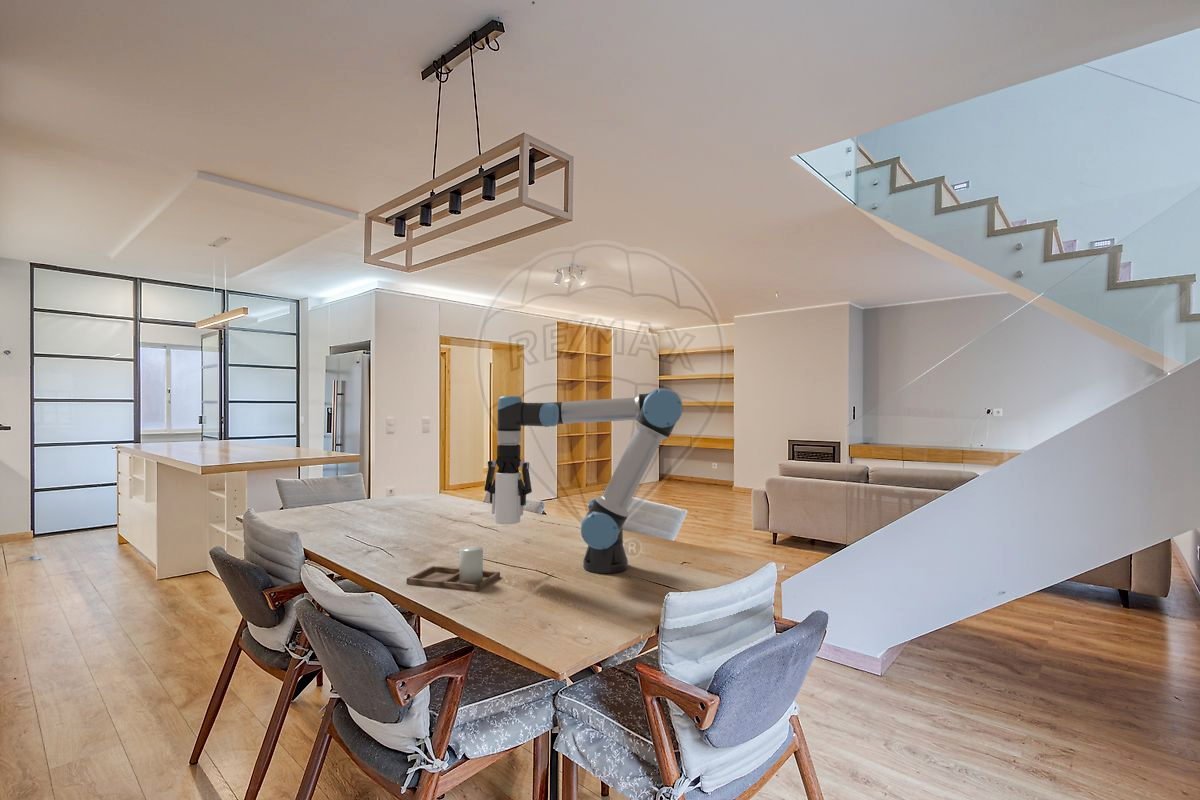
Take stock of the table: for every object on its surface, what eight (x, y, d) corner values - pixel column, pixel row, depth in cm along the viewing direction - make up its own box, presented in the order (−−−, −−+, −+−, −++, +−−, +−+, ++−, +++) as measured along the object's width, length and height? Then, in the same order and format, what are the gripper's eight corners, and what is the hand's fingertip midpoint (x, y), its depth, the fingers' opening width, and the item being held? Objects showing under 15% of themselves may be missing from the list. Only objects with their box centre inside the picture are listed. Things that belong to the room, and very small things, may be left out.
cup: (523, 519, 185) (524, 470, 185) (516, 524, 177) (517, 474, 177) (498, 518, 186) (499, 470, 186) (491, 523, 178) (492, 473, 178)
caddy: (499, 580, 177) (500, 572, 177) (478, 594, 163) (478, 586, 163) (432, 573, 183) (432, 565, 183) (406, 586, 170) (406, 578, 170)
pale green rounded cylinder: (486, 579, 174) (486, 547, 174) (475, 586, 167) (475, 552, 167) (466, 577, 176) (466, 545, 176) (454, 584, 169) (454, 551, 169)
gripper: (543, 444, 182) (542, 514, 182) (485, 441, 188) (483, 509, 188) (534, 446, 175) (533, 519, 175) (473, 443, 181) (472, 514, 181)
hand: (507, 514), depth 182 cm, fingers closed on cup, 8 cm apart
